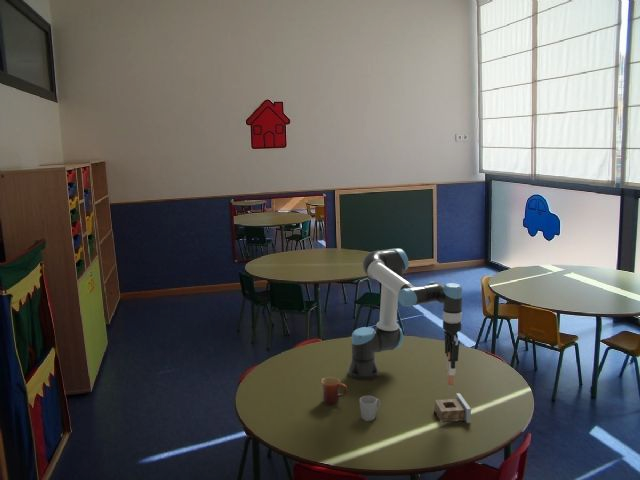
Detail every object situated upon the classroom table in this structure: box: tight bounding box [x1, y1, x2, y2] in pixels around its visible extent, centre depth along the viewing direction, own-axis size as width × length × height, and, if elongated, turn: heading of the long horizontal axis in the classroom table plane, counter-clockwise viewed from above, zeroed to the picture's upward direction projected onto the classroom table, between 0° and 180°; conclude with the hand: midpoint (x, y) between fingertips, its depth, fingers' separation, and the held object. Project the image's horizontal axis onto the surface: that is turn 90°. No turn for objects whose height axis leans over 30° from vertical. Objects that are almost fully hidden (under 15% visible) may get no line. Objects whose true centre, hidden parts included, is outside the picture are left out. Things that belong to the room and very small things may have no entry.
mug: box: [320, 376, 348, 406], centre depth 250 cm, size 12×9×10 cm
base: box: [455, 392, 472, 423], centre depth 237 cm, size 2×14×6 cm, turn 5°
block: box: [434, 398, 465, 423], centre depth 237 cm, size 10×10×5 cm
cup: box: [359, 395, 381, 422], centre depth 237 cm, size 8×10×8 cm
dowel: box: [446, 352, 455, 386], centre depth 233 cm, size 3×3×14 cm
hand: (450, 373), depth 233 cm, fingers closed on dowel, 2 cm apart
